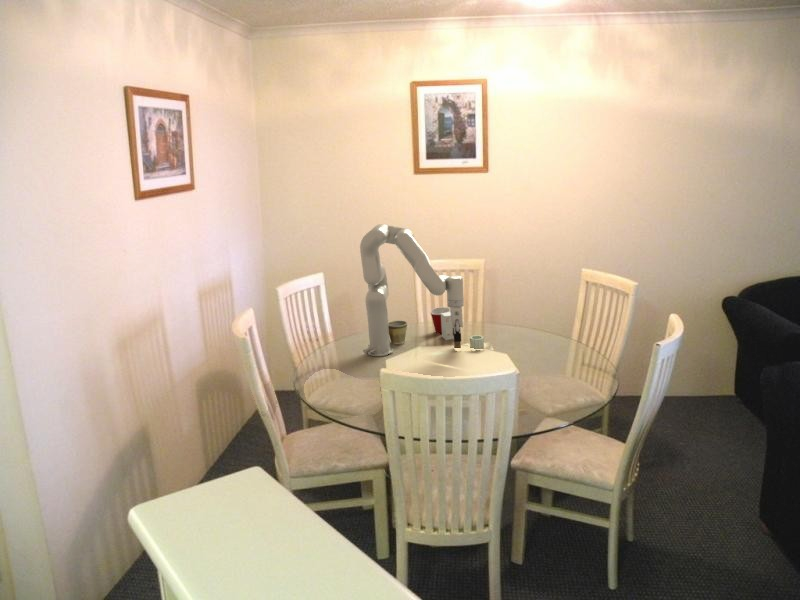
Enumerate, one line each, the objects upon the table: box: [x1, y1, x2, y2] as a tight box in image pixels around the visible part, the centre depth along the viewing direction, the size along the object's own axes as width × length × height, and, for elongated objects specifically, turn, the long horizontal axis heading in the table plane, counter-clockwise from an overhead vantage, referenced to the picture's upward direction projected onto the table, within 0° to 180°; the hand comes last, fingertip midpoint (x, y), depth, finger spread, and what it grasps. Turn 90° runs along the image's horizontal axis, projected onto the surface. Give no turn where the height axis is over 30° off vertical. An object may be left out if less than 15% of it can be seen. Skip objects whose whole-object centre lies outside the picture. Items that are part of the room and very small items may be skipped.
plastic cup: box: [429, 306, 450, 334], centre depth 332 cm, size 11×11×12 cm
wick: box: [453, 326, 461, 349], centre depth 302 cm, size 3×3×12 cm
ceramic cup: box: [388, 320, 408, 345], centre depth 321 cm, size 13×10×10 cm
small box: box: [441, 312, 462, 341], centre depth 320 cm, size 8×6×13 cm
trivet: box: [452, 341, 494, 351], centre depth 305 cm, size 18×12×1 cm, turn 89°
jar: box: [469, 334, 485, 349], centre depth 303 cm, size 7×7×5 cm
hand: (457, 338), depth 303 cm, fingers open, 8 cm apart
